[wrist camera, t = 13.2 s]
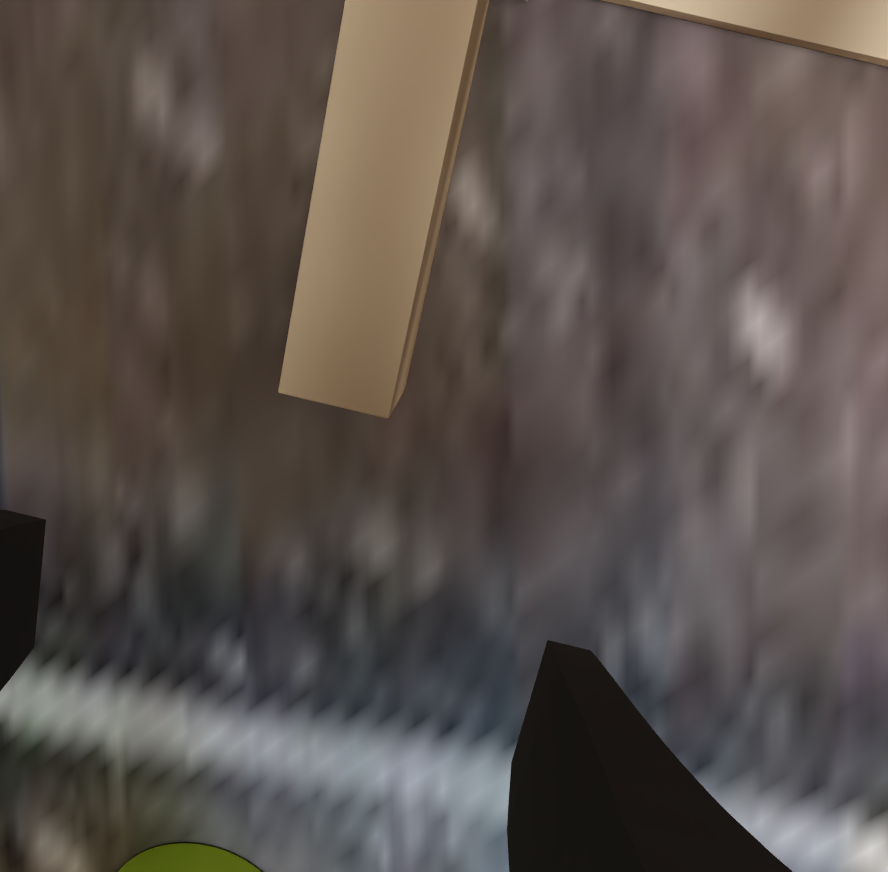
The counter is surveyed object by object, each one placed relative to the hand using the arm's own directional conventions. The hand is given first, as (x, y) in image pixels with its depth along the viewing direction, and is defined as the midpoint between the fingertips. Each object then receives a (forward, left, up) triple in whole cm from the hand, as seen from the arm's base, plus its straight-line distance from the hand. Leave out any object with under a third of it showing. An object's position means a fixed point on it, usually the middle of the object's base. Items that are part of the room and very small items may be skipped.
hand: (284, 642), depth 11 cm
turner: (-1, +9, -10) cm, 13 cm away
